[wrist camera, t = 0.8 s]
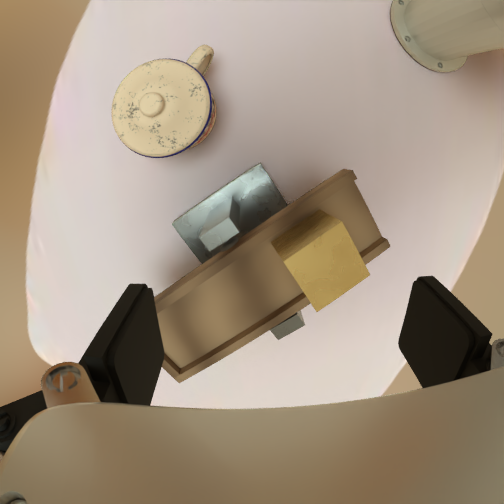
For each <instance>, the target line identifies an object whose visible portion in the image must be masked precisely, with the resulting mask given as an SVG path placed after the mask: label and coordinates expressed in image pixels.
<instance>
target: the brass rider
mask: <svg viewBox="0 0 504 504" xmlns="http://www.w3.org/2000/svg"><path fill="white" fill-rule="evenodd" d="M270 243H271V244H272V246H273V247H274V249H275V250H276V252H277V253H278V255H279V256H280V258H281V259H282V261H283V262H284V264H285V265H286V267H287V268H288V270H289V271H290V273H291V274H292V276H293V277H294V279H295V280H296V282H297V283H298V285H299V286H300V288H301V289H302V291H303V292H304V294H305V295H306V297H307V298H308V300H309V301H310V303H311V304H312V306H313V307H314V309H315V310H316V312H318V311H319V310H321V309H322V308H324V307H325V306H327V305H328V304H330V303H331V302H332V301H334V300H335V299H337V298H338V297H340V296H341V295H343V294H344V293H345V292H347V291H348V290H350V289H351V288H352V287H354V286H355V285H357V284H358V283H359V282H361V281H362V280H364V279H365V278H366V277H368V276H369V275H370V274H369V272H368V270H367V268H366V266H365V264H364V262H363V260H362V258H361V256H360V254H359V252H358V250H357V248H356V246H355V245H354V243H353V241H352V239H351V237H350V235H349V233H348V231H347V230H346V228H345V226H344V224H343V222H342V221H340V220H338V219H337V218H335V217H333V216H331V215H329V214H327V213H325V212H323V211H322V210H320V209H319V210H317V211H316V212H314V213H313V214H311V215H310V216H308V217H307V218H306V219H304V220H303V221H301V222H300V223H298V224H297V225H295V226H294V227H292V228H291V229H289V230H288V231H286V232H285V233H283V234H282V235H280V236H279V237H277V238H276V239H274V240H273V241H272V242H270Z"/></svg>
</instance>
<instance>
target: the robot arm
mask: <svg viewBox="0 0 504 504" xmlns="http://www.w3.org/2000/svg"><path fill="white" fill-rule="evenodd" d="M390 13H391V22H392V26H393V29H394V31H395V34H396V36H397V38H398V40H399V41H400V43H401V45H402V46H403V47H404V48H405V50H406V51H407V52H408V53H409V54H410V55H411V56H412V57H413V58H414V59H415V60H416V61H417V62H419V63H420V64H421V65H423V66H425V67H427V68H428V69H431V70H434V71H437V72H451V71H455V70H457V69H459V68H461V67H462V66H463V65H464V63H465V62H466V60H467V57H468V55H473V54H477V53H482V52H487V51H492V50H497V49H503V48H504V0H394V1H393V3H392V6H391V12H390ZM491 336H492V333H491V332H490V331H489V330H488V329H487V328H486V327H485V326H484V325H483V324H482V323H481V322H480V321H479V320H478V319H477V318H476V317H475V316H474V315H473V314H472V313H471V312H470V311H469V310H468V309H467V308H466V307H465V306H464V305H463V304H462V303H461V302H460V301H459V300H458V299H457V298H456V297H455V296H454V295H453V294H452V293H451V292H450V291H449V290H448V289H447V288H446V287H444V286H443V285H442V284H441V283H440V282H439V281H438V280H437V279H436V278H435V277H433V276H422V277H418V278H417V280H416V281H414V283H413V285H412V290H411V294H410V298H409V303H408V307H407V311H406V315H405V319H404V322H403V326H402V330H401V333H400V337H399V342H398V344H399V348H400V350H401V352H402V354H403V355H404V357H405V359H406V360H407V362H408V364H409V365H410V367H411V369H412V370H413V372H414V374H415V375H416V377H417V379H418V380H419V382H420V384H421V386H422V387H423V388H422V389H417V390H412V391H407V392H403V393H397V394H392V395H386V396H380V397H374V398H368V399H361V400H354V401H346V402H338V403H330V404H320V405H309V406H297V407H281V408H258V409H201V408H179V407H164V406H150V404H151V400H152V397H153V393H154V390H155V387H156V383H157V380H158V377H159V374H160V370H161V367H162V364H163V361H164V347H163V342H162V337H161V332H160V327H159V322H158V317H157V312H156V306H155V301H154V295H153V290H152V288H148V287H147V285H146V284H129V285H128V287H127V288H126V290H125V291H124V293H123V294H122V296H121V297H120V299H119V300H118V302H117V303H116V305H115V306H114V308H113V309H112V311H111V312H110V314H109V315H108V317H107V319H106V320H105V322H104V323H103V324H102V326H101V328H100V329H99V331H98V332H97V334H96V335H95V337H94V339H93V340H92V342H91V343H90V345H89V347H88V348H87V350H86V352H85V353H84V355H83V356H82V358H81V360H80V361H79V363H74V362H63V363H59V364H56V365H54V366H52V367H51V368H49V369H48V370H47V371H46V372H45V374H44V375H43V377H42V380H41V387H42V390H41V391H39V392H36V393H34V394H32V395H29V396H27V397H24V398H22V399H19V400H17V401H15V402H12V403H10V404H7V405H4V406H2V407H0V504H504V339H498V340H495V341H494V342H493V344H492V346H491V345H490V344H489V341H490V339H491Z"/></svg>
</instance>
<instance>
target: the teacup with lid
mask: <svg viewBox="0 0 504 504" xmlns="http://www.w3.org/2000/svg"><path fill="white" fill-rule="evenodd" d="M213 55H214V51H213V49H212V48H211V47H209V46H207V45H202V46H200V47H199V48H197V49H196V50H195V51H194V52H193V54H192V55H191V56H190V58H189V59H188V60H187V62H186V63H185V62H183V61H180V60H175V59H157V60H153V61H150V62H147V63H144V64H142V65H140V66H139V67H137V68H135V69H134V70H133V71H131V72H130V73H129V74H128V75H127V76H126V77H125V78H124V80H123V81H122V82H121V84H120V85H119V87H118V89H117V91H116V93H115V96H114V99H113V104H112V121H113V125H114V128H115V131H116V133H117V135H118V137H119V138H120V140H121V141H122V142H123V143H124V144H125V145H126V146H127V147H128V148H129V149H130V150H132V151H134V152H135V153H137V154H140V155H142V156H146V157H151V158H164V157H169V156H173V155H176V154H178V153H181V152H183V151H184V150H187V149H190V148H192V147H194V146H196V145H198V144H199V143H201V142H202V141H203V140H204V139H205V138H206V137H207V136H208V134H209V133H210V132H211V130H212V128H213V126H214V123H215V119H216V104H215V100H214V98H213V95H212V94H211V92H210V89H209V86H208V84H207V82H206V80H205V79H204V77H203V76H204V74H205V73H206V71H207V69H208V68H209V66H210V64H211V61H212V59H213Z"/></svg>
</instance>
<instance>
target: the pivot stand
mask: <svg viewBox="0 0 504 504" xmlns="http://www.w3.org/2000/svg"><path fill="white" fill-rule="evenodd" d="M287 206H288V205H287V203H286V202H285V200H284V199H283V197H282V196H281V194H280V193H279V191H278V189H277V188H276V186H275V185H274V183H273V182H272V180H271V179H270V177H269V176H268V174H267V173H266V171H265V170H264V168H263V167H262V165H261V164H260V163H258V164H257V165H255V166H254V167H252V168H251V169H249V170H248V171H246V172H244V173H243V174H241V175H240V176H238V177H237V178H235V179H234V180H232V181H231V182H229V183H228V184H226V185H225V186H223V187H222V188H220V189H219V190H217V191H216V192H214V193H213V194H212V195H210V196H209V197H207V198H206V199H204V200H203V201H201V202H200V203H199V204H197V205H196V206H194V207H193V208H191V209H190V210H189V211H187V212H186V213H184V214H183V215H181V216H180V217H179V218H177V219H176V220H174V222H173V223H172V225H173V226H174V228H175V229H176V230H177V232H178V233H179V234H180V236H181V237H182V238H183V240H184V241H185V242H186V244H187V245H188V246H189V248H190V249H191V250H192V252H193V253H194V254H195V255H196V257H197V258H198V259H199V261H200V262H201V263H202V264H203V263H205V262H206V261H208V260H209V259H210V258H212V257H213V256H215V255H216V254H218V253H219V252H221V250H220V248H221V246H222V245H223V244H224V243H225V242H227V241H228V240H230V239H231V238H233V237H237V238H238V239H240V238H241V237H242V236H244V235H245V234H247V233H248V232H250V231H251V230H253V229H254V228H256V227H257V226H259V225H260V224H262V223H263V222H265V221H266V220H268V219H269V218H270V217H272V216H273V215H275V214H276V213H278V212H279V211H281V210H282V209H284V208H285V207H287ZM304 325H305V323H304V320H303V317H302V314H301V311H298V312H296V313H295V314H293V315H292V316H290V317H289V318H287V319H286V320H284V321H283V322H281V323H280V324H278V325H276V326H275V327H273V328H272V329H270V330H271V332H272V333H273V334H274V335H275V337H276V338H277V339H278V340H279V339H281V338H283V337H285V336H286V335H288V334H290V333H292V332H294V331H295V330H297V329H299V328H301V327H302V326H304Z"/></svg>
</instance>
